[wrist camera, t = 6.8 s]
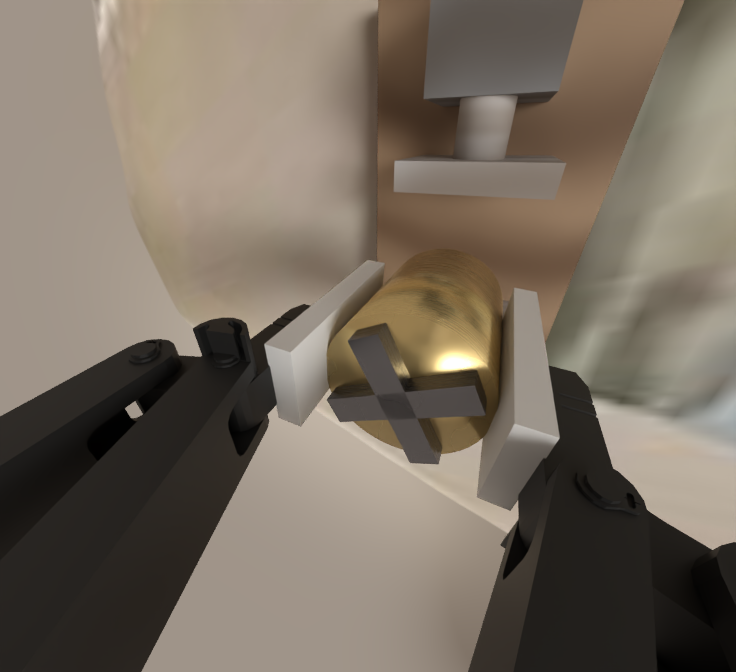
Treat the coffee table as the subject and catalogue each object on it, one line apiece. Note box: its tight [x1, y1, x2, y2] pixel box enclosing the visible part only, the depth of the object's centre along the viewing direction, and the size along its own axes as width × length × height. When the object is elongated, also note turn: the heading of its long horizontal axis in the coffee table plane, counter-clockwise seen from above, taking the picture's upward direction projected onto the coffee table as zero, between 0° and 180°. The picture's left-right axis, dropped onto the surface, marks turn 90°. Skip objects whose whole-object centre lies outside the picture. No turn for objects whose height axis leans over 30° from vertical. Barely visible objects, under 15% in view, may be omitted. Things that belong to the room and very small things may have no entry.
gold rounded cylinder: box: [327, 249, 503, 464], centre depth 10 cm, size 5×5×7 cm
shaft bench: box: [377, 0, 684, 342], centre depth 16 cm, size 22×12×7 cm, turn 1°
